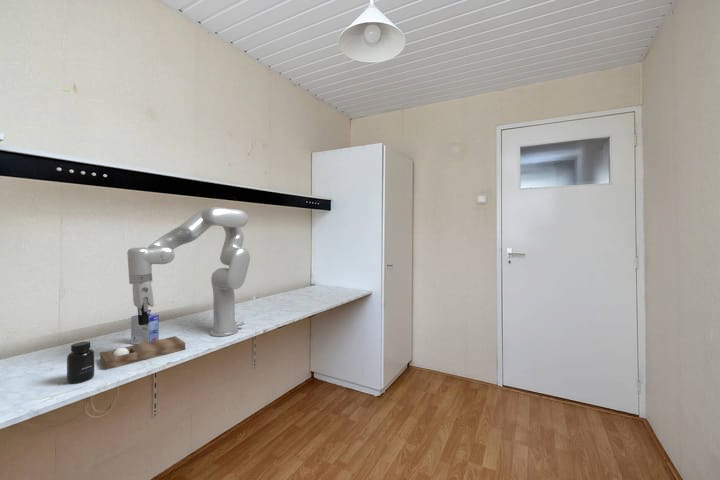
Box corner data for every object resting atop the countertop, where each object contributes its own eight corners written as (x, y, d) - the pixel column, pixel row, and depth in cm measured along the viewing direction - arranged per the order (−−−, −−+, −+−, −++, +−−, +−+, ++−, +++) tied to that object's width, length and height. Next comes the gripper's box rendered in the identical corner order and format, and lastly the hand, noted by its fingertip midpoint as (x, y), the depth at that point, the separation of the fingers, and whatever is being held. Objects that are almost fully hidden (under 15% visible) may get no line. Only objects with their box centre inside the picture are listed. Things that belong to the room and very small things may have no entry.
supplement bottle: (87, 382, 102) (87, 346, 101) (62, 385, 100) (61, 348, 99) (98, 373, 108) (98, 339, 108) (74, 376, 106) (74, 341, 106)
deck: (175, 342, 139) (175, 336, 138) (185, 349, 130) (185, 342, 130) (100, 360, 119) (99, 352, 119) (106, 369, 111) (106, 361, 111)
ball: (126, 359, 122) (129, 346, 123) (128, 362, 118) (131, 348, 119) (110, 360, 118) (113, 346, 119) (112, 363, 115) (115, 349, 116)
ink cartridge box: (159, 341, 140) (159, 309, 140) (149, 345, 135) (148, 312, 135) (141, 340, 142) (141, 308, 142) (130, 344, 137) (129, 311, 137)
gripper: (157, 279, 121) (160, 325, 122) (146, 275, 131) (149, 318, 132) (134, 282, 116) (137, 330, 117) (124, 278, 126) (127, 322, 127)
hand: (143, 324), depth 125 cm, fingers closed
